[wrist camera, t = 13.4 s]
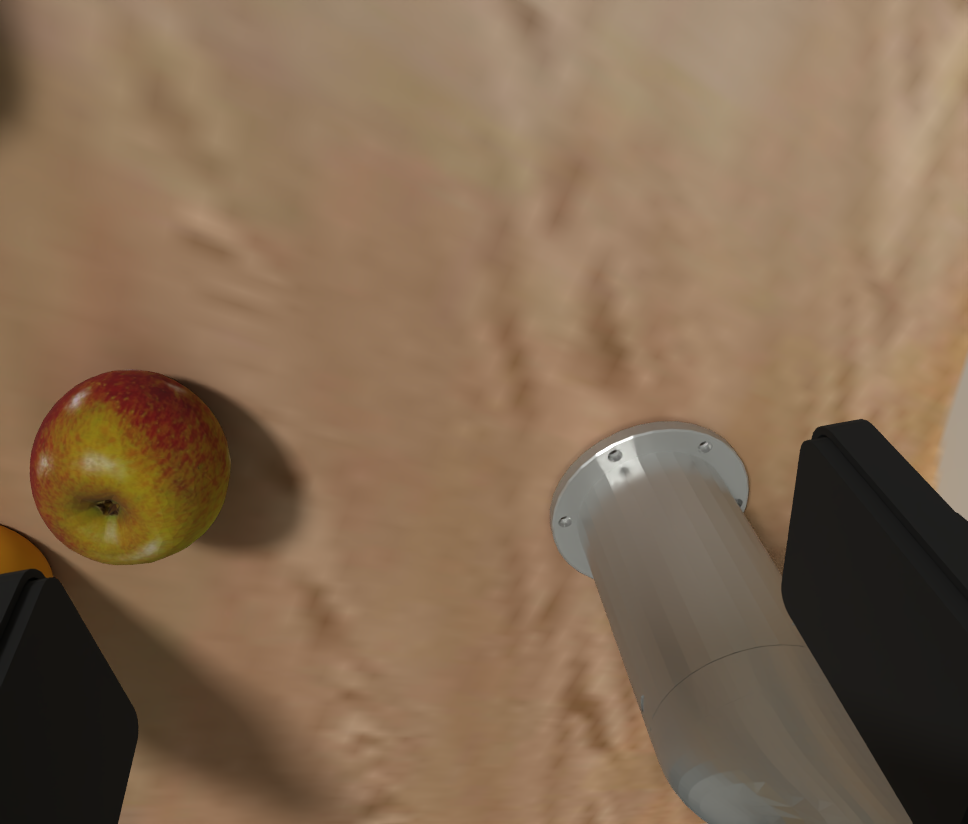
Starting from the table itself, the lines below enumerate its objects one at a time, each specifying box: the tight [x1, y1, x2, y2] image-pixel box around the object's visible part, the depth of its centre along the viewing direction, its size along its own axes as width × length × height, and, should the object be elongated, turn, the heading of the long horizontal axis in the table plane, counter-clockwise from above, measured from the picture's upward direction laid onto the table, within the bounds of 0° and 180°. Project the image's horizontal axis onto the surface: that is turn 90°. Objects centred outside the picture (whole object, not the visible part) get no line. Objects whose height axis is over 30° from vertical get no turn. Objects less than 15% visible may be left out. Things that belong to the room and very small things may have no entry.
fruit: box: [30, 369, 231, 565], centre depth 40 cm, size 10×9×8 cm
